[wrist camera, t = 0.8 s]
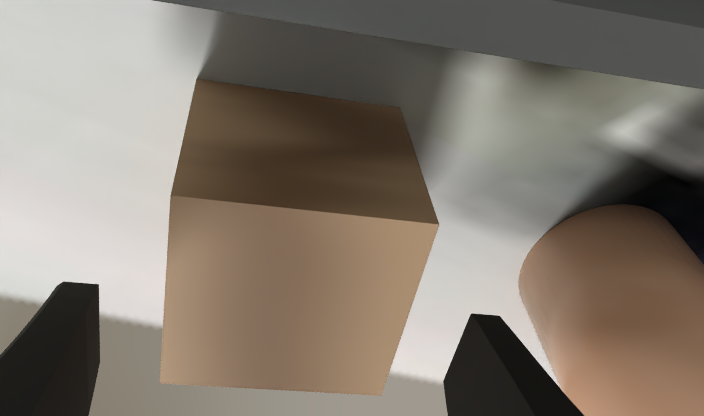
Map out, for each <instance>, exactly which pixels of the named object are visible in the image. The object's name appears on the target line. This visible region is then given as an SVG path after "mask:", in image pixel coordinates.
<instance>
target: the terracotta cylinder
mask: <svg viewBox="0 0 704 416" xmlns="http://www.w3.org/2000/svg"><path fill="white" fill-rule="evenodd" d="M519 293H520V296H521V299H522V302H523V304H524V306H525V309H526V311H527V313H528V316H529V318H530V320H531V322H532V325H533V327H534V329H535V332H536V334H537V336H538V338H539V341H540V343H541V345H542V348H543V350H544V352H545V354H546V357H547V359H548V361H549V364H550V366H551V368H552V370H553V373H554V375H555V377H556V380H557V382H558V384H559V386H560V389H561V390H562V391H563V392H564V393H565V395H566V396H567V397H568V398H569V399H570V400H571V401H572V402H573V404H574V405H575V406H576V407H577V408H578V409H579V410H580V411H581V412H582V413H583V415H584V416H704V264H703V263H702V262H701V261H700V260H699V258H698V257H697V256H696V255H695V253H694V252H693V251H692V250H691V248H690V247H689V246H688V245H687V243H686V242H685V241H684V240H683V238H682V237H681V236H680V235H679V234H678V232H677V231H676V230H675V229H674V227H673V226H672V225H671V224H670V223H669V222H668V220H667V219H666V218H664V217H663V216H662V215H660V214H659V213H657V212H655V211H653V210H651V209H648V208H645V207H642V206H637V205H628V204H616V205H607V206H601V207H597V208H593V209H589V210H586V211H584V212H581V213H578V214H576V215H574V216H572V217H570V218H568V219H566V220H564V221H563V222H561V223H559V224H558V225H556V226H555V227H554V228H552V229H551V230H550V231H548V232H547V233H546V234H545V235H544V236H543V237H542V238H541V239H540V240H539V241H538V242H537V243H536V244H535V245H534V246H533V248H532V249H531V251H530V252H529V254H528V255H527V257H526V259H525V261H524V263H523V265H522V268H521V271H520V276H519Z"/></svg>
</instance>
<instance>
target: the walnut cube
mask: <svg viewBox="0 0 704 416" xmlns="http://www.w3.org/2000/svg"><path fill="white" fill-rule="evenodd" d="M438 227H439V222H438V220H437V217H436V214H435V211H434V208H433V205H432V202H431V199H430V196H429V193H428V190H427V187H426V184H425V181H424V178H423V175H422V172H421V169H420V166H419V163H418V160H417V157H416V154H415V151H414V148H413V145H412V143H411V140H410V137H409V134H408V131H407V128H406V125H405V122H404V119H403V116H402V113H401V110H400V108H399V107H392V106H385V105H378V104H371V103H364V102H357V101H350V100H342V99H335V98H328V97H321V96H314V95H307V94H300V93H293V92H286V91H279V90H272V89H265V88H258V87H251V86H244V85H237V84H230V83H223V82H215V81H208V80H201V79H196V84H195V88H194V93H193V97H192V102H191V106H190V111H189V115H188V120H187V124H186V129H185V133H184V138H183V142H182V147H181V151H180V156H179V160H178V165H177V169H176V174H175V178H174V183H173V187H172V192H171V199H170V216H169V234H168V251H167V268H166V285H165V302H164V319H163V337H162V353H161V370H160V383H165V384H182V385H200V386H219V387H236V388H255V389H272V390H273V389H274V390H290V391H291V390H292V391H307V392H308V391H309V392H325V393H344V394H362V395H380V396H381V394H382V391H383V389H384V386H385V383H386V380H387V377H388V374H389V371H390V368H391V365H392V362H393V359H394V356H395V353H396V350H397V348H398V345H399V342H400V339H401V336H402V333H403V330H404V327H405V324H406V321H407V318H408V315H409V312H410V309H411V306H412V303H413V300H414V297H415V294H416V291H417V289H418V286H419V283H420V280H421V277H422V274H423V271H424V268H425V265H426V262H427V259H428V256H429V253H430V250H431V247H432V244H433V241H434V238H435V235H436V233H437V230H438Z"/></svg>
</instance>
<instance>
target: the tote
mask: <svg viewBox="0 0 704 416" xmlns="http://www.w3.org/2000/svg"><path fill="white" fill-rule="evenodd" d="M154 1H161V2H167V3H173V4H179V5H185V6H191V7H198V8H204V9H210V10H216V11H222V12H229V13H235V14H241V15H247V16H253V17H260V18H266V19H272V20H278V21H284V22H290V23H297V24H303V25H309V26H315V27H321V28H328V29H334V30H340V31H346V32H352V33H358V34H365V35H371V36H377V37H383V38H389V39H396V40H402V41H408V42H414V43H420V44H426V45H433V46H439V47H445V48H451V49H457V50H464V51H470V52H476V53H482V54H488V55H495V56H501V57H507V58H513V59H519V60H525V61H532V62H538V63H544V64H550V65H556V66H563V67H569V68H575V69H581V70H587V71H593V72H600V73H606V74H612V75H618V76H624V77H631V78H637V79H643V80H649V81H655V82H661V83H668V84H674V85H680V86H686V87H692V88H699V89H704V0H154Z"/></svg>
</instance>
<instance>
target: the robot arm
mask: <svg viewBox="0 0 704 416" xmlns="http://www.w3.org/2000/svg"><path fill="white" fill-rule="evenodd" d="M99 340H100V338H99V284H86V283H73V282H62V283H61V284H59V285H58V286H57V287H56V288H55V289H54V291H53V292H52V293H51V295H50V296H49V298H48V299H47V300H46V301H45V303H44V304H43V305H42V307H41V308H40V309H39V311H38V312H37V313H36V314H35V315H34V317H33V318H32V319H31V321H30V322H29V323H28V324H27V325H26V326H25V328H24V329H23V330H22V331H21V332H20V334H19V335H18V336H17V337H16V338H15V339H14V340H13V342H12V343H11V344H10V345H9V346H8V347H7V348H6V349H5V350H4V352H3V353H2V354H1V355H0V416H88V415H89V411H90V406H91V401H92V397H93V392H94V387H95V383H96V378H97V373H98V368H99V364H100V341H99ZM443 382H444V390H445V397H446V405H447V412H448V416H584V415H583V413H582V412H581V411H580V410H579V409H578V408H577V407H576V406H575V405H574V404H573V402H572V401H571V400H570V399H569V398H568V397H567V396H566V395H565V393H564V392H563V391H562V390H561V389H560V388H559V386H558V385H557V384H556V383H555V382H554V381H553V379H552V378H551V377H550V376H549V375H548V374H547V372H546V371H545V370H544V369H543V368H542V366H541V365H540V364H539V363H538V362H537V360H536V359H535V358H534V357H533V356H532V354H531V353H530V352H529V351H528V350H527V348H526V347H525V346H524V345H523V343H522V342H521V341H520V340H519V339H518V337H517V336H516V335H515V334H514V333H513V331H512V330H511V329H510V328H509V327H508V325H507V324H506V323H505V322H504V321H503V320H502V318H501V317H500V316H495V315H483V314H471V315H470V318H469V320H468V322H467V325H466V327H465V330H464V332H463V335H462V337H461V339H460V342H459V344H458V347H457V349H456V352H455V354H454V357H453V359H452V361H451V364H450V366H449V369H448V371H447V374H446V376H445V379H444V381H443Z"/></svg>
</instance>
